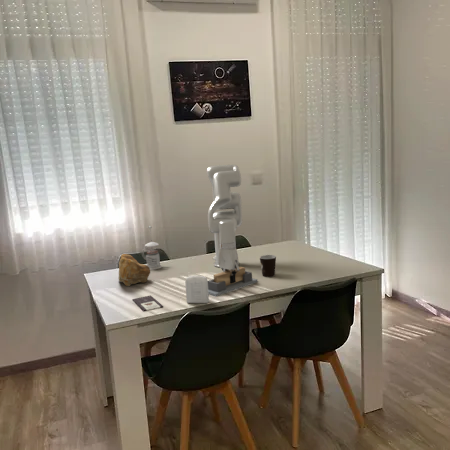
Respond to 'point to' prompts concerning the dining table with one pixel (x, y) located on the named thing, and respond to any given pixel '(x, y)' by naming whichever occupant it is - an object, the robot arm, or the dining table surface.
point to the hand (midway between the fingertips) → (230, 281)
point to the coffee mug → (268, 265)
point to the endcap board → (221, 287)
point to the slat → (226, 276)
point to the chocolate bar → (147, 303)
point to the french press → (156, 257)
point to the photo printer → (197, 289)
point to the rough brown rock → (132, 270)
